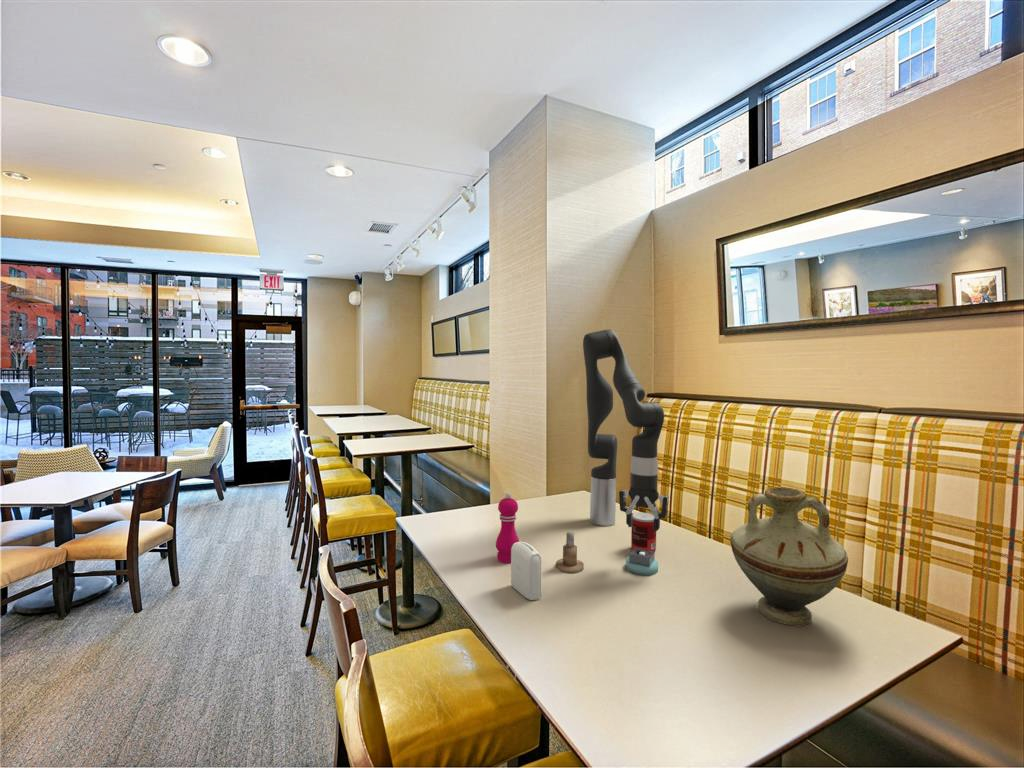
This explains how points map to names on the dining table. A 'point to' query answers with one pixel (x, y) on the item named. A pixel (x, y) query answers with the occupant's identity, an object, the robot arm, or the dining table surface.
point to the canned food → (643, 532)
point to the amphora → (788, 555)
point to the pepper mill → (506, 528)
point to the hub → (642, 567)
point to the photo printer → (526, 570)
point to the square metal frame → (641, 557)
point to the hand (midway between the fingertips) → (642, 528)
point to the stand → (569, 557)
